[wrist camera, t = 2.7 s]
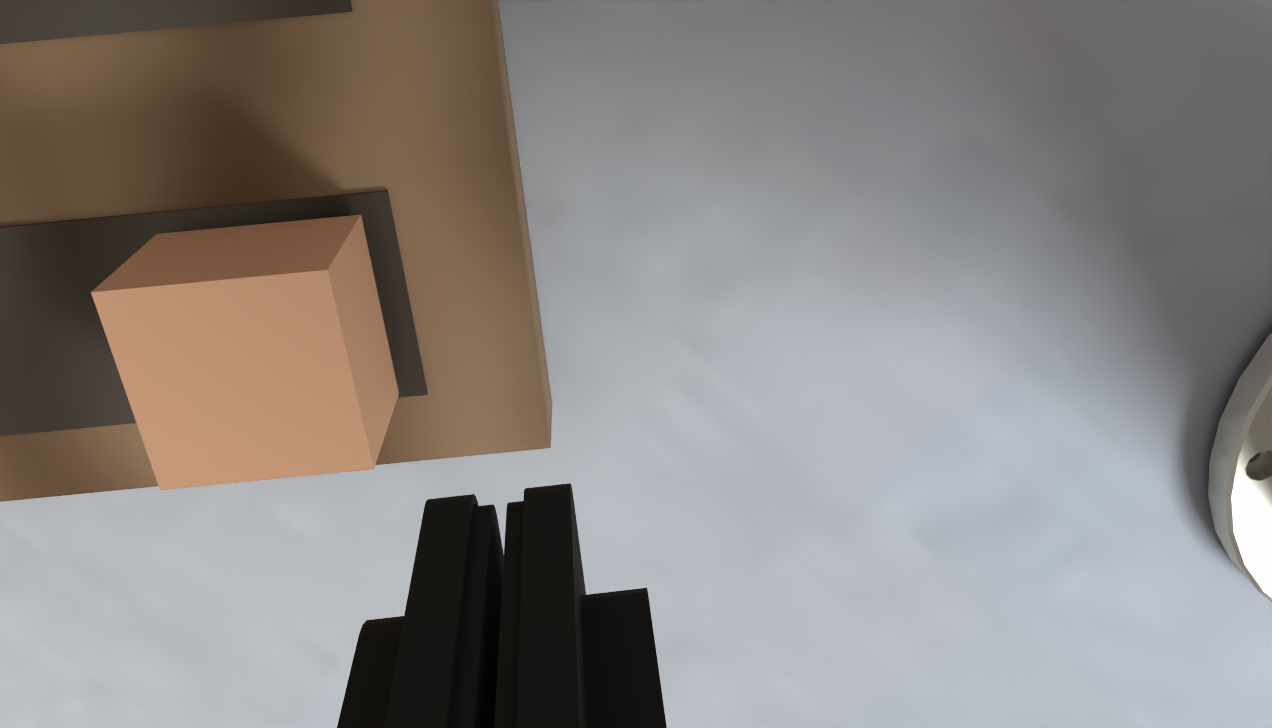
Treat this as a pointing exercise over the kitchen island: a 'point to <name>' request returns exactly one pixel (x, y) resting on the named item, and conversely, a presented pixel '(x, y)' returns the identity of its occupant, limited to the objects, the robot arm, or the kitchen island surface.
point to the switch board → (261, 204)
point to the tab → (252, 351)
